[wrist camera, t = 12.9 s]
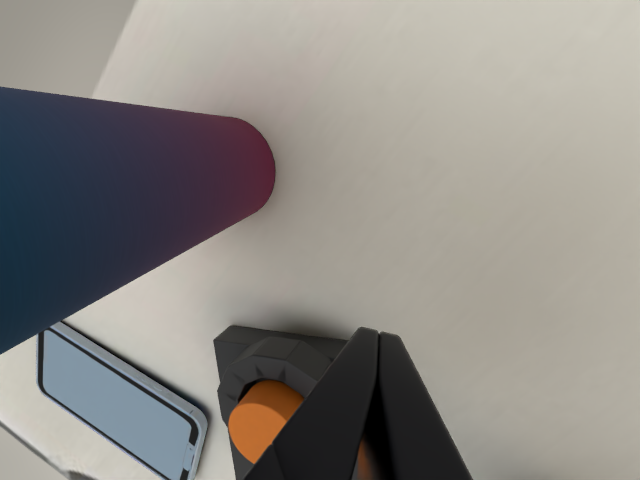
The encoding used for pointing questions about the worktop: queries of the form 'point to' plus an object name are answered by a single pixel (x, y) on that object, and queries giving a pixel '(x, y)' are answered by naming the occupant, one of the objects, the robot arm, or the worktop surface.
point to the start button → (262, 416)
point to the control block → (268, 369)
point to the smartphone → (120, 403)
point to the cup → (110, 197)
